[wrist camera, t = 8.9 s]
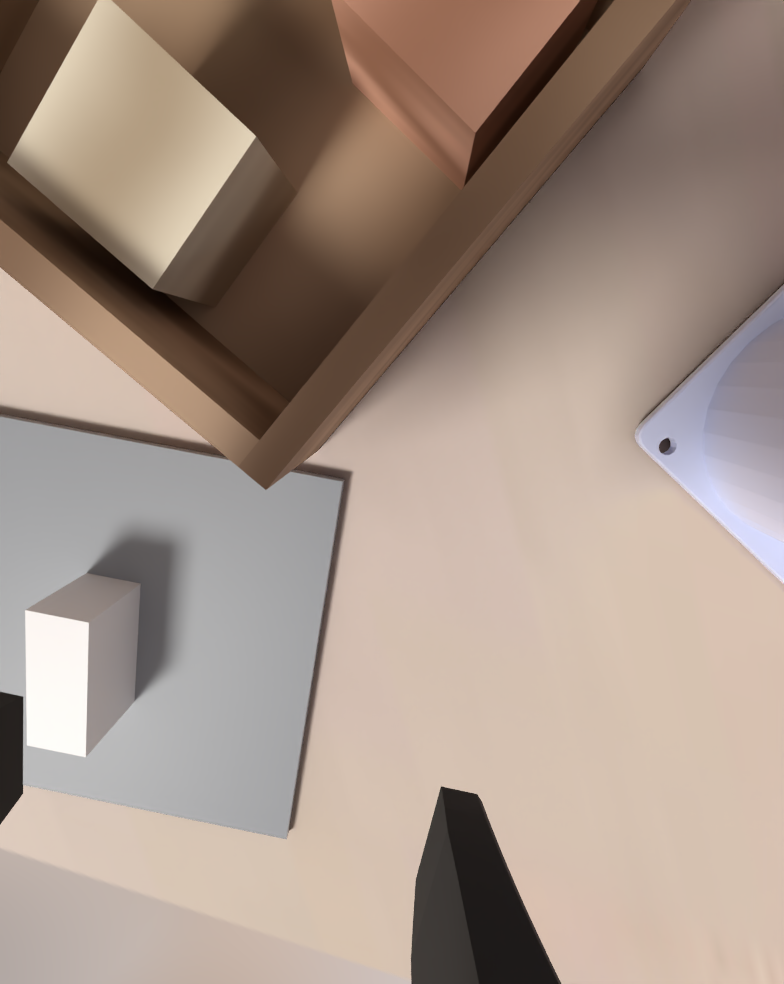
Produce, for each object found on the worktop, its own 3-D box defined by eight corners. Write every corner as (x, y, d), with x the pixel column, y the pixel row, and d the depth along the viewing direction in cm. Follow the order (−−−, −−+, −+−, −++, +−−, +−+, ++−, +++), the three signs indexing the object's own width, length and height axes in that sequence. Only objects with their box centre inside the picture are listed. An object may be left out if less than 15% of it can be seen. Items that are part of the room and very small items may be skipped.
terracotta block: (570, 59, 13) (622, -54, 9) (462, 191, 14) (475, 133, 10) (456, -63, 12) (467, -227, 9) (352, 83, 13) (327, -17, 10)
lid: (347, 475, 17) (326, 504, 14) (293, 817, 21) (264, 912, 17) (-73, 395, 18) (-205, 402, 14) (-51, 747, 21) (-150, 826, 18)
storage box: (642, 67, 13) (788, -135, 8) (317, 450, 16) (266, 490, 11) (234, -375, 12) (75, -995, 6) (-39, 142, 15) (-299, 16, 10)
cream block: (297, 193, 14) (256, 136, 10) (215, 307, 15) (152, 289, 11) (183, 87, 13) (102, -9, 10) (105, 211, 14) (7, 162, 11)
